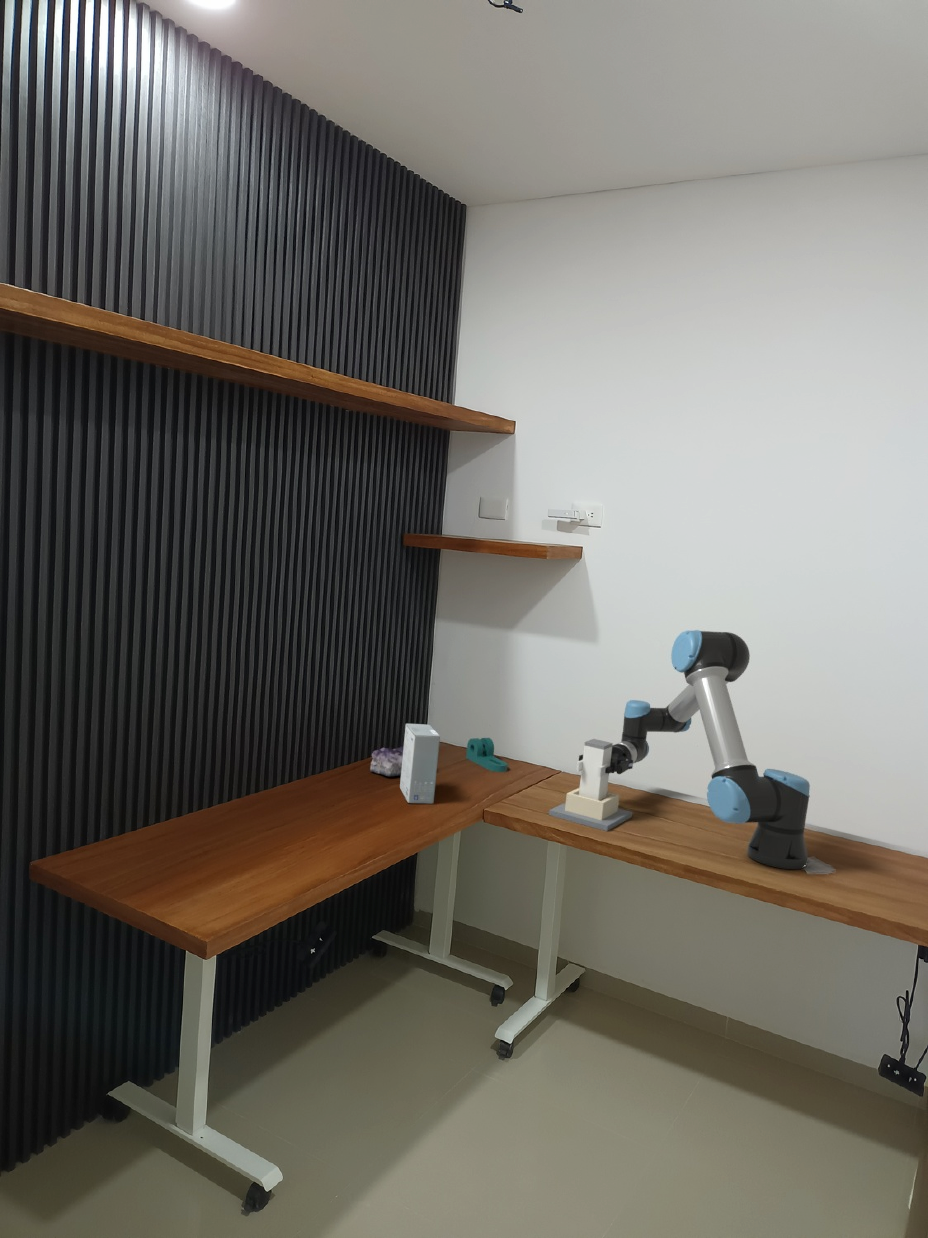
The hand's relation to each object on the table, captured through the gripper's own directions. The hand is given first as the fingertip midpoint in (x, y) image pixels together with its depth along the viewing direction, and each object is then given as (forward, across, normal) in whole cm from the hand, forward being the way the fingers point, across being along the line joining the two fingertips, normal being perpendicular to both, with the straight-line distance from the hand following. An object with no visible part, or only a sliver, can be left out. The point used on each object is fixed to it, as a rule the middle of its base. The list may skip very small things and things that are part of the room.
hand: (588, 769), depth 254 cm
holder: (-5, 0, -15) cm, 15 cm away
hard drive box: (+19, +45, -15) cm, 51 cm away
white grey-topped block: (-5, 0, -9) cm, 10 cm away
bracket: (-29, +49, -16) cm, 59 cm away
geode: (+3, +62, -15) cm, 64 cm away
